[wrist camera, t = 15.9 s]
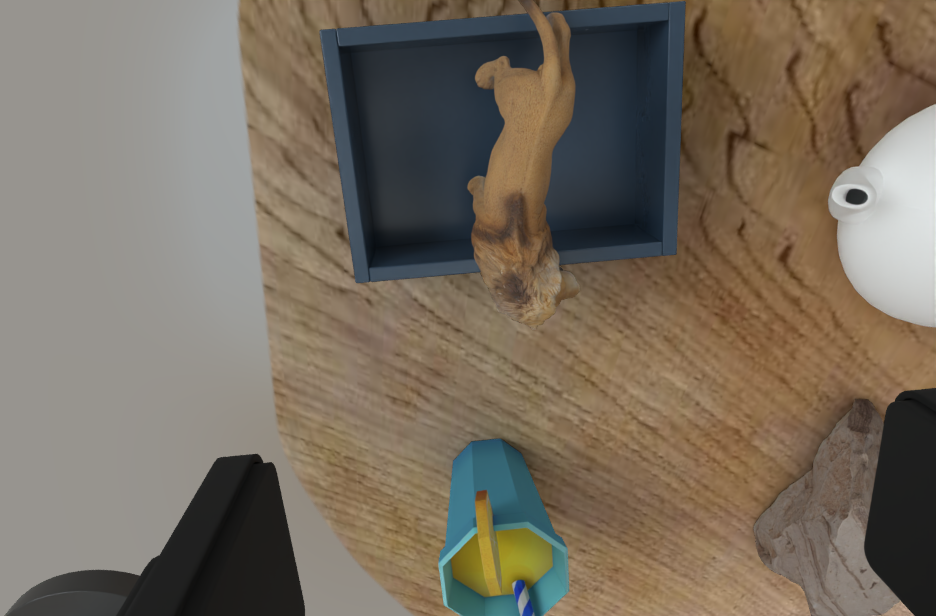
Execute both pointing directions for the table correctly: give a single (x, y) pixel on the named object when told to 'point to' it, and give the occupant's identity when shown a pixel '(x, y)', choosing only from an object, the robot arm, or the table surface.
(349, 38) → the dark blue storage bin
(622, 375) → the table surface
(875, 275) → the teapot
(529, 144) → the lion figurine
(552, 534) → the cup
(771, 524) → the stone
